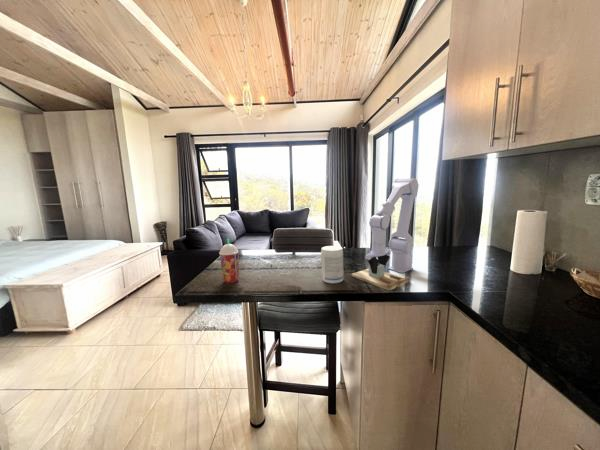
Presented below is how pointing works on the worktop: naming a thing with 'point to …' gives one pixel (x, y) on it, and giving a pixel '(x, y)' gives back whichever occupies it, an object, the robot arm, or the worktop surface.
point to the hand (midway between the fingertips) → (377, 272)
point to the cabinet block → (379, 271)
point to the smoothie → (229, 262)
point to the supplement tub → (332, 264)
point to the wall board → (381, 279)
